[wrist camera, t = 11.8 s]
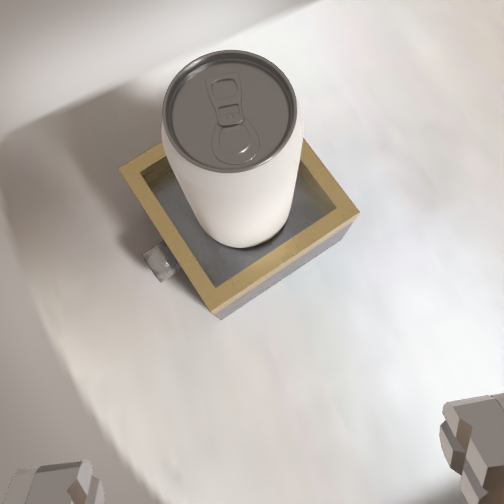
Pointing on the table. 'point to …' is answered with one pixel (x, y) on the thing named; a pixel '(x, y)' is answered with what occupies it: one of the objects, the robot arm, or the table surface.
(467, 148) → the table surface
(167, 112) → the can
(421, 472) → the table surface
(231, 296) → the drawer
